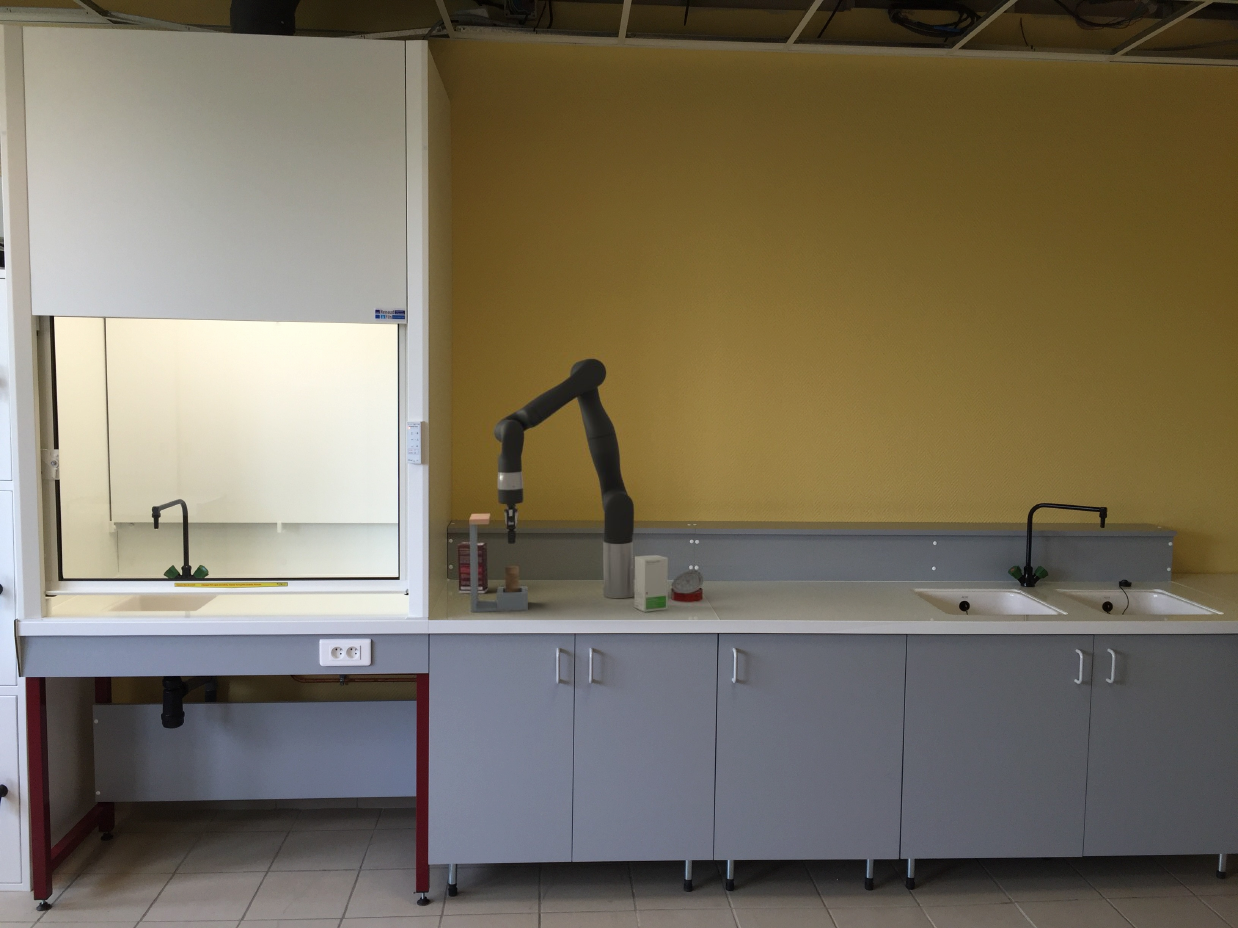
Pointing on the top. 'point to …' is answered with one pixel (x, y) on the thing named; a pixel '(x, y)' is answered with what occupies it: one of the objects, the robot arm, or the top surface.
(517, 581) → the peg
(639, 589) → the skincare box
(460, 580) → the supplement box
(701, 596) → the canned food
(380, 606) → the top surface
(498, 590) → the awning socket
